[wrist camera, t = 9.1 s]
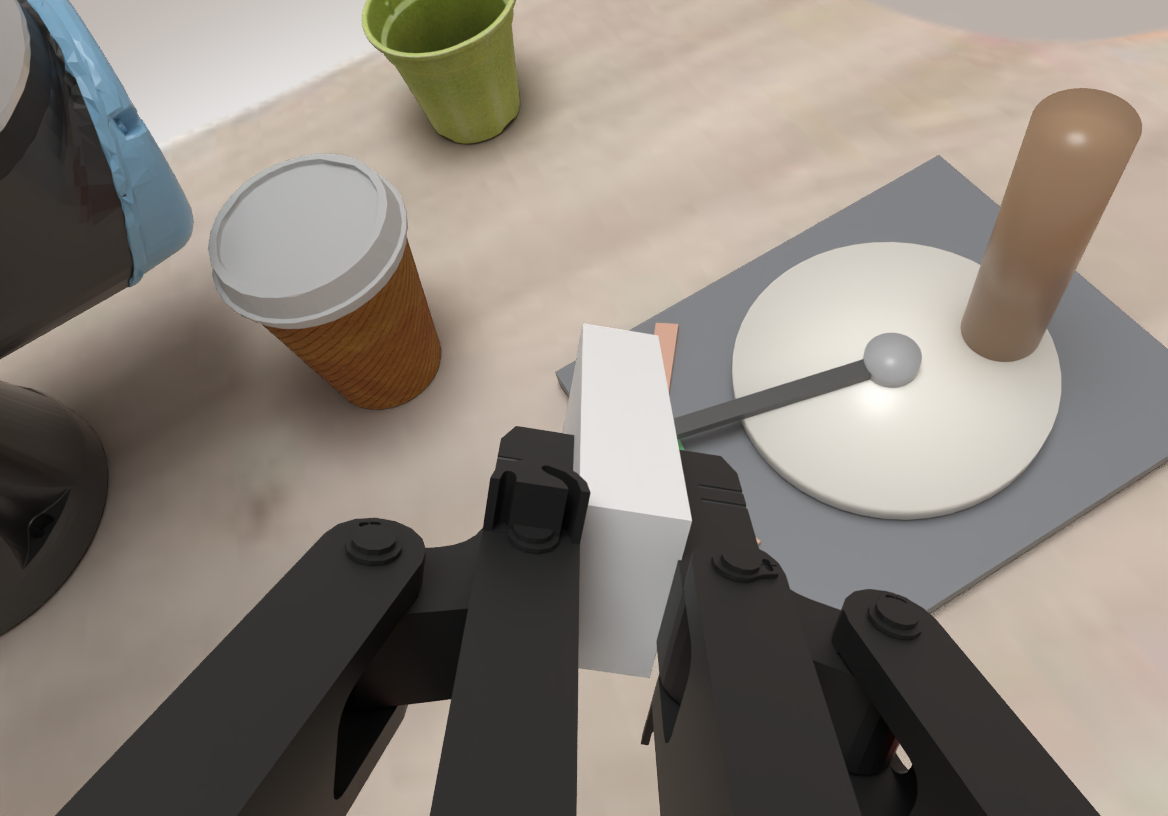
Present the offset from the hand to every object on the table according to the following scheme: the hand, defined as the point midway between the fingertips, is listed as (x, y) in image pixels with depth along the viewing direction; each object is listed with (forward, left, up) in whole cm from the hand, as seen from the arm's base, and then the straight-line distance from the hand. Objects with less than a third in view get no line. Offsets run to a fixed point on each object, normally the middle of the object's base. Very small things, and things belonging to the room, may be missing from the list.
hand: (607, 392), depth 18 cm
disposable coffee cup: (-24, -5, -26) cm, 36 cm away
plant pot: (-39, +8, -26) cm, 48 cm away
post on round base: (-8, +16, -24) cm, 30 cm away
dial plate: (-7, +16, -26) cm, 31 cm away
